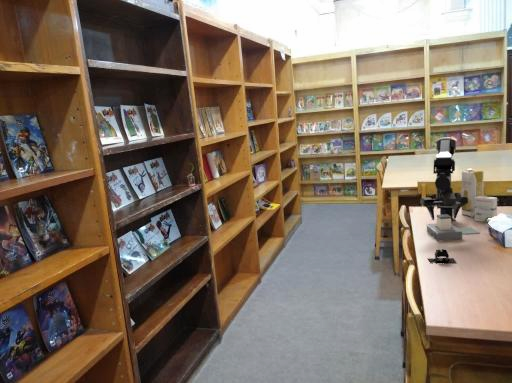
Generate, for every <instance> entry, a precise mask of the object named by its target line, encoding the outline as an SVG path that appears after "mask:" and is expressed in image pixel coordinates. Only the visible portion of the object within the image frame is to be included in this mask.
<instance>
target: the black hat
mask: <svg viewBox="0 0 512 383" xmlns="http://www.w3.org/2000/svg"><path fill="white" fill-rule="evenodd" d="M427 260H428V262H430V263H429V264H430V265H434V264H433V263H436V264H435V265H438V264H437V263H442V264H443V263H444V264H443V265H445V264H447V265H449V264H450V265H451V264H452V265H453V264H454V265H455V264H456V265H457V264H458V262H457V260H455V259H454V258H453V257H450V256H449V253H448V251H447V249H435V251H434V258H431V257H429V258H427ZM442 264H441V265H442Z"/></svg>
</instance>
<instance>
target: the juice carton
mask: <svg viewBox="0 0 512 383" xmlns="http://www.w3.org/2000/svg"><path fill="white" fill-rule="evenodd" d="M484 174H485V172H484V170H475V169H473V168H467V169H466V170H461V195H464V196H466V197H467V198H468V203H466V204H465V205H463V206H462V207H461V214H462V215H465V216H468V217H471V218H475V197H478V196H484Z"/></svg>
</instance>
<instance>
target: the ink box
mask: <svg viewBox="0 0 512 383" xmlns="http://www.w3.org/2000/svg"><path fill="white" fill-rule="evenodd" d="M494 216H497V217H498V197H494V196H485V195H483V196H478V197H475V217H474V221H475V222H484V223H487V222H486V221H487V219H488V218H492V217H494Z"/></svg>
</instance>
